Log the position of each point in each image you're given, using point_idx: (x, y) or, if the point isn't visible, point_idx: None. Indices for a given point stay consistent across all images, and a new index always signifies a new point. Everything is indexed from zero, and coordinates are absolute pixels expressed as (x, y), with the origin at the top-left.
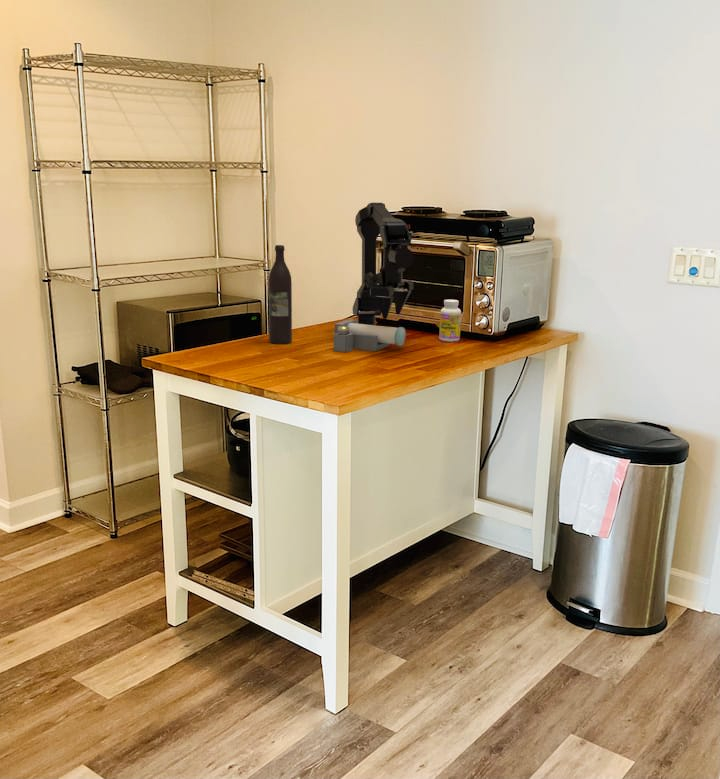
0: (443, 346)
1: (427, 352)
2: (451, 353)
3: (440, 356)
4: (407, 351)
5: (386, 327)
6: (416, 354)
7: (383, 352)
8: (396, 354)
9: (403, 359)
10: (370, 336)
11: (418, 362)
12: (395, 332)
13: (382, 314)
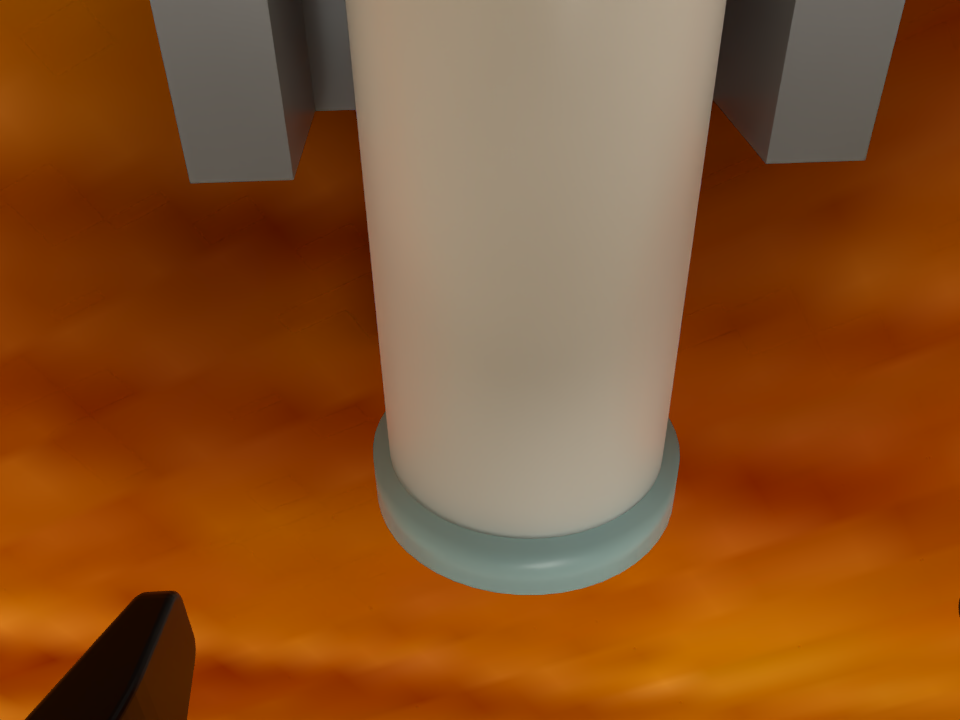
0: (934, 577)
1: None
2: (637, 708)
3: (467, 693)
4: None
5: (501, 339)
6: None
7: (269, 216)
8: (277, 391)
9: (110, 536)
10: (166, 62)
11: None
12: (413, 493)
13: (62, 691)
